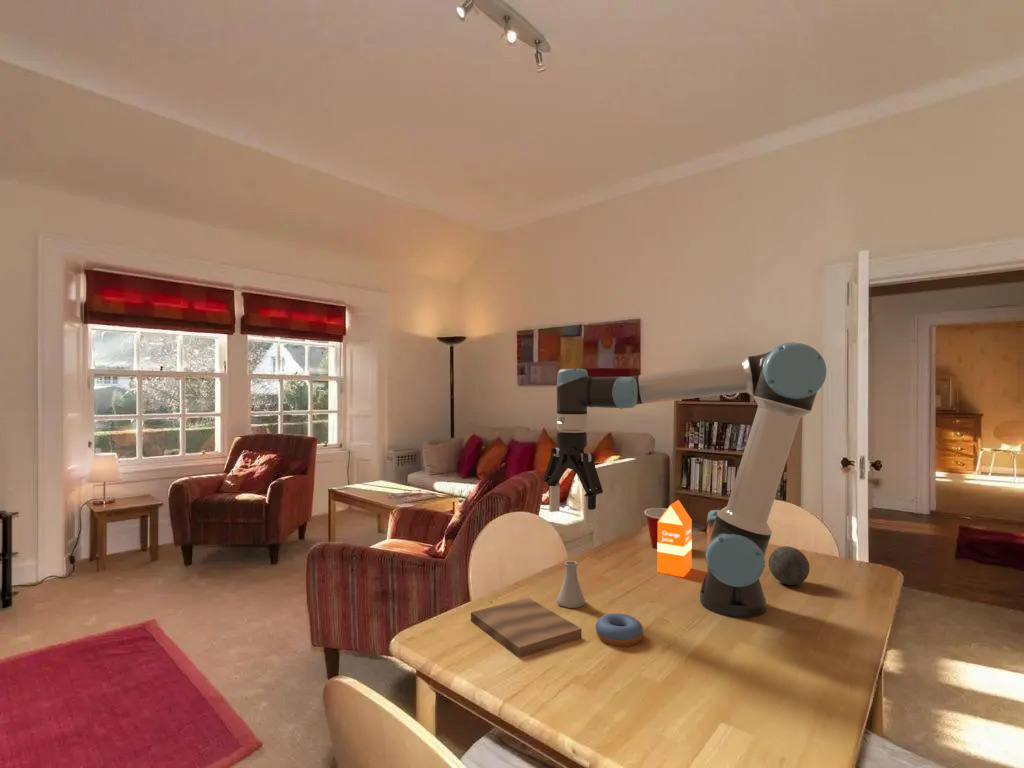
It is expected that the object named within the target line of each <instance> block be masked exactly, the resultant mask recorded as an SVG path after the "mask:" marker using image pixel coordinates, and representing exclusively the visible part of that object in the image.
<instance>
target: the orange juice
mask: <svg viewBox="0 0 1024 768" xmlns="http://www.w3.org/2000/svg"><path fill="white" fill-rule="evenodd" d="M666 509H667V510H666V511H665V513H664V514H663V515H662V517H661V518H660V519H659V521H658V543H657V549H656V550H657V551H656V552H657V558H656V559H657V565H656V566H657V571H656V572H657V573H659V572H660V573H659V574H664V575H669V574H670V575H671V576H676V577H679V578H680V577H681V578H684V577H685V576H686V575H687V574H688V573H689V572H690V571H691V570H692V569H691V568H692V563H693V562H692V561H693V559H692V555H693V553H692V548H693V547H692V545H693V540H692V538H693V537H692V536H693V534H692V532H693V531H692V529H693V526H692V525H693V523H692V521H693V519H692V518H691V517H690V515H689V514H688V512H687V511H686V508H684V506H683V505H682V503H681V501H680V500H679V499H678V500H676V501H675V502H673V503H671V504H670V505H669V506H668V508H666ZM690 569H691V570H690Z"/></svg>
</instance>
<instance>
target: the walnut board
mask: <svg viewBox="0 0 1024 768" xmlns="http://www.w3.org/2000/svg"><path fill="white" fill-rule="evenodd" d="M470 622H471V623H473V624H474V625H475V626H476V627H478V628H480V629H481V630H482V631H483V632H484V633H486V634H487V635H488V636H490V637H491V638H492V639H493V640H495V641H497V642H498V644H501V645H502V647H504V648H505V649H506V650H508V651H509V652H511V654H513V655H514V656H516V657H517V658H519V659H520V658H522V657H525V656H529V655H531V654H534V653H538V651H539V652H541V650H542V651H545V650H548V649H551V648H554V646H555V647H557V645H558V646H561V645H564V644H567V643H570V642H573V640H574V641H577V640H579V638H580V639H582V628H581V627H579V626H578V625H577V624H575V623H572V622H571V621H569V620H567V619H566V618H564V617H562V616H560V615H559V614H557V613H556V612H554V611H552V610H550V609H549V608H547V607H546V606H544V605H541V604H540V603H539V602H537V601H534V600H533V599H531V598H530V597H526V598H522V599H519V600H515V601H510V602H506V603H501V604H498V605H494V606H490V607H486V608H483V609H482V608H481V609H478V610H474V611H471V612H470ZM576 639H577V640H576ZM566 642H567V643H566ZM563 643H564V644H563ZM560 644H561V645H560ZM550 647H551V648H550ZM544 649H545V650H544Z"/></svg>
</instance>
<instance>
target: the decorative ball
mask: <svg viewBox="0 0 1024 768" xmlns="http://www.w3.org/2000/svg"><path fill="white" fill-rule="evenodd" d="M768 569H769V571H770V573H771V575H772V576H773V578H775V579H776V580H777V581H778V582H780V583H782V584H785V585H789V586H796V585H799V584H801V583H803V582H804V581H806V579H807V578H808V576H809V574H810V562H809V560H808V558H807V557H806V555H805V554H804V553H803V552H802V551H801V550H799V549H797V548H795V547H792V546H785V545H784V546H779V547H778V548H775V549H774V550H772V552H771V554H770V555H769V557H768Z"/></svg>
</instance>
